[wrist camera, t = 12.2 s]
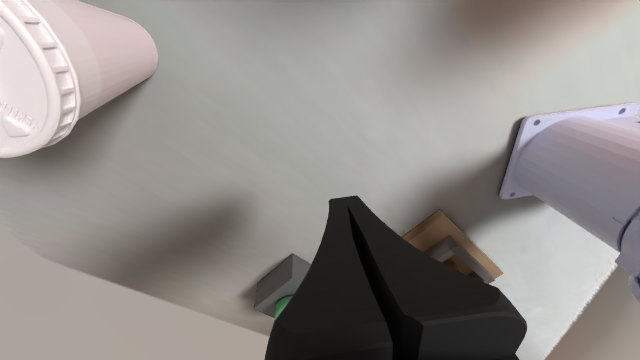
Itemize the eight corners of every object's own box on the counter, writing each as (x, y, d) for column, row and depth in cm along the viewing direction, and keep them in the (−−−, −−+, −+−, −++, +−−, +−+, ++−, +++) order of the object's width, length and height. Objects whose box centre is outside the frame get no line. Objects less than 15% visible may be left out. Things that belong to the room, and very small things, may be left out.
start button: (293, 290, 24) (293, 307, 22) (323, 305, 25) (325, 323, 24) (267, 310, 25) (265, 328, 23) (297, 323, 26) (297, 341, 25)
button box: (292, 253, 26) (292, 277, 23) (333, 277, 28) (336, 301, 26) (257, 283, 28) (253, 308, 25) (298, 303, 30) (298, 328, 27)
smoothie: (68, 77, 16) (-596, 194, 4) (65, -38, 14) (-1915, -679, 1) (172, 115, 18) (-85, 276, 6) (188, 19, 15) (-235, -50, 3)
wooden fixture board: (439, 209, 24) (486, 266, 18) (497, 266, 29) (549, 325, 23) (304, 308, 31) (305, 375, 25) (371, 341, 36) (386, 403, 30)
